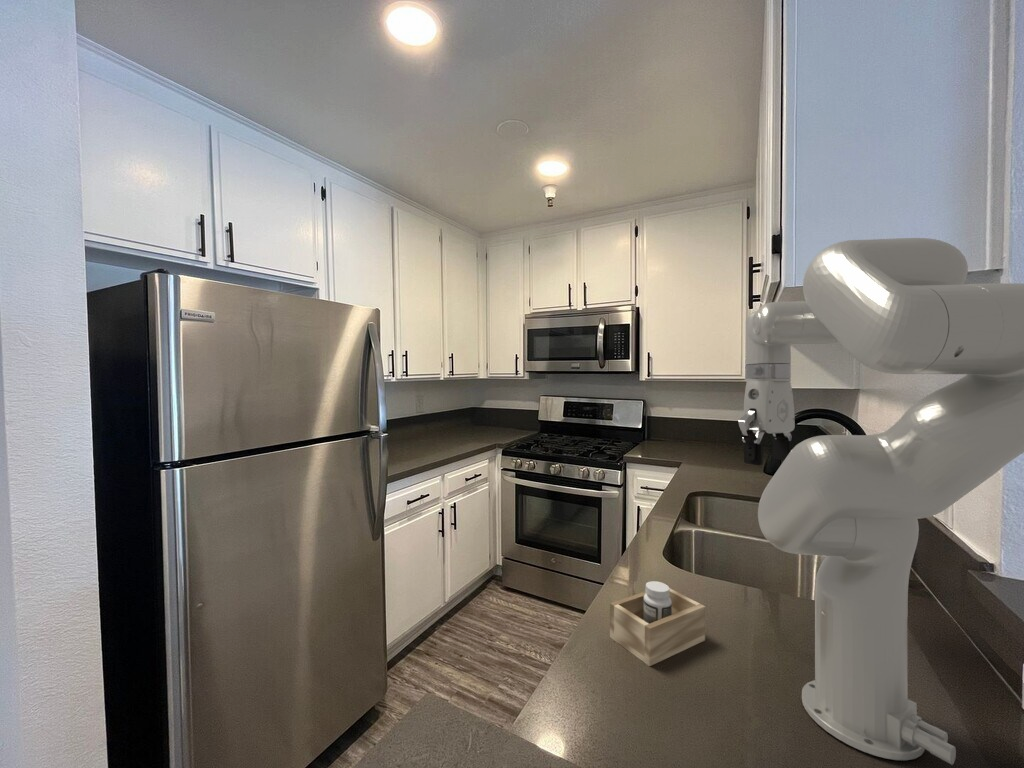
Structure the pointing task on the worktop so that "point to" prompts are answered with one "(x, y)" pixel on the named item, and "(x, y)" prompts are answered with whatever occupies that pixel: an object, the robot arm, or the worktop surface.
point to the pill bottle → (656, 602)
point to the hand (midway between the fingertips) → (767, 461)
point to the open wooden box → (657, 627)
